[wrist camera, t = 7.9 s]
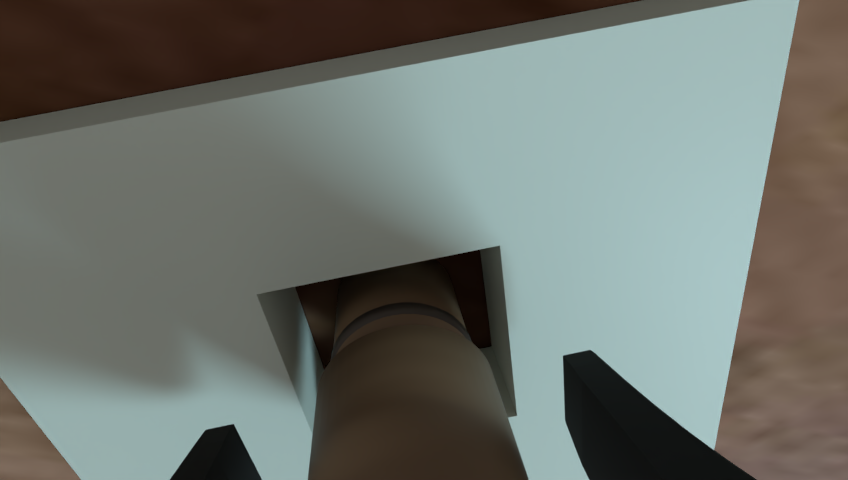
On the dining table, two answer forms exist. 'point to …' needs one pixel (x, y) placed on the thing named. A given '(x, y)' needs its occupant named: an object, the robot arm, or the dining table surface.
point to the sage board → (392, 227)
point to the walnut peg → (408, 387)
